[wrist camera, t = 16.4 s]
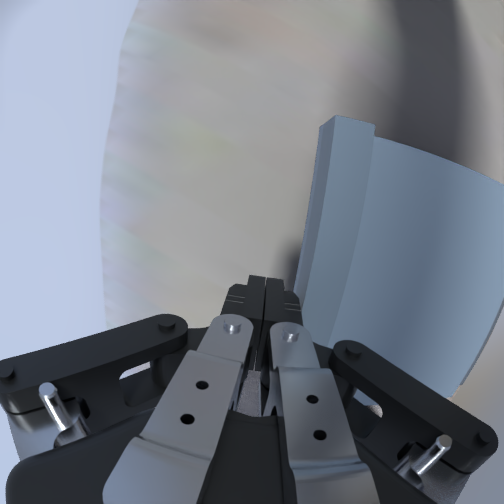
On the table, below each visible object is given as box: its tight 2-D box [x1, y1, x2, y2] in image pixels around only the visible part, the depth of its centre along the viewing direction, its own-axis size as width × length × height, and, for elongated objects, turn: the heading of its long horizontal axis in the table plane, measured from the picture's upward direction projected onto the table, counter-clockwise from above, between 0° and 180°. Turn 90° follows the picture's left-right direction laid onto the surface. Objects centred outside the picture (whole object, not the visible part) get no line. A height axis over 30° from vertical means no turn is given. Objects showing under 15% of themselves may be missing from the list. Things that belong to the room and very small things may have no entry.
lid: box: [293, 115, 504, 405], centre depth 12 cm, size 16×15×4 cm
